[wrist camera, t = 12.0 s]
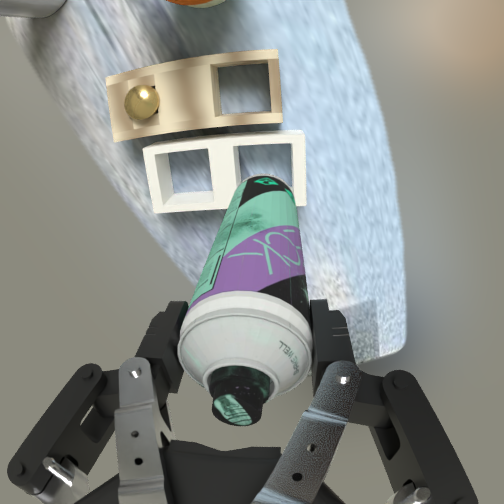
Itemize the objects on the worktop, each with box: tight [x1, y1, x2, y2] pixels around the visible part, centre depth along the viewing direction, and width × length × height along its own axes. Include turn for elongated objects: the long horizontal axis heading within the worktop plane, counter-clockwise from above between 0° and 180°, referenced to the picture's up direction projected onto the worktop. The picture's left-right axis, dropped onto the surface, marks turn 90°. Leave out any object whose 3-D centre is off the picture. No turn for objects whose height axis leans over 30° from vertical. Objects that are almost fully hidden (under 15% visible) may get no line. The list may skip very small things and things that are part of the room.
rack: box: [143, 130, 306, 213], centre depth 39 cm, size 20×9×5 cm, turn 94°
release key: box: [124, 85, 160, 120], centre depth 34 cm, size 4×4×6 cm
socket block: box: [106, 49, 283, 142], centre depth 34 cm, size 22×9×5 cm, turn 94°
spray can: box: [178, 174, 313, 426], centre depth 18 cm, size 6×6×20 cm
